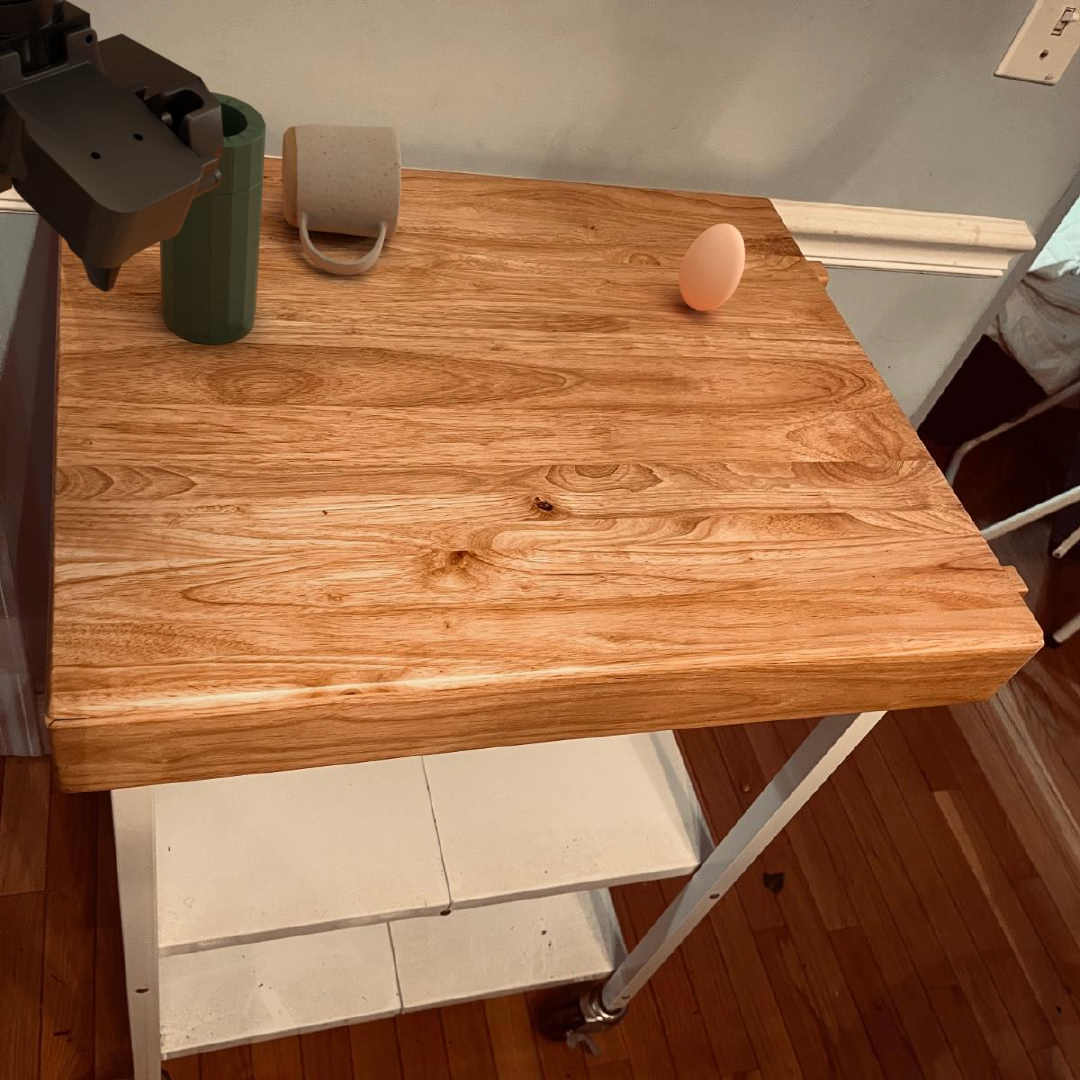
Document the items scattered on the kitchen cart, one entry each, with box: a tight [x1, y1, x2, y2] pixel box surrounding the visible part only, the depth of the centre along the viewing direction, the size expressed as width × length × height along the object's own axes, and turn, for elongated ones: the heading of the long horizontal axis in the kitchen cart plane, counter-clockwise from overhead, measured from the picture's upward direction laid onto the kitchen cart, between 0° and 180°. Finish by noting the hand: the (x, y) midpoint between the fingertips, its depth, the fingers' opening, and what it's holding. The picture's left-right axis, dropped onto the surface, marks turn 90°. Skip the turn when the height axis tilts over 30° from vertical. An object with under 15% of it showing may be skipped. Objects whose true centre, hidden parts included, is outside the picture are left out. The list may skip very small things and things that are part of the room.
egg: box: [678, 223, 746, 312], centre depth 82 cm, size 5×5×7 cm
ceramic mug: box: [281, 123, 402, 276], centre depth 77 cm, size 11×8×8 cm
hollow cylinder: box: [159, 91, 267, 345], centre depth 65 cm, size 6×6×14 cm
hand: (22, 330), depth 47 cm, fingers open, 9 cm apart
